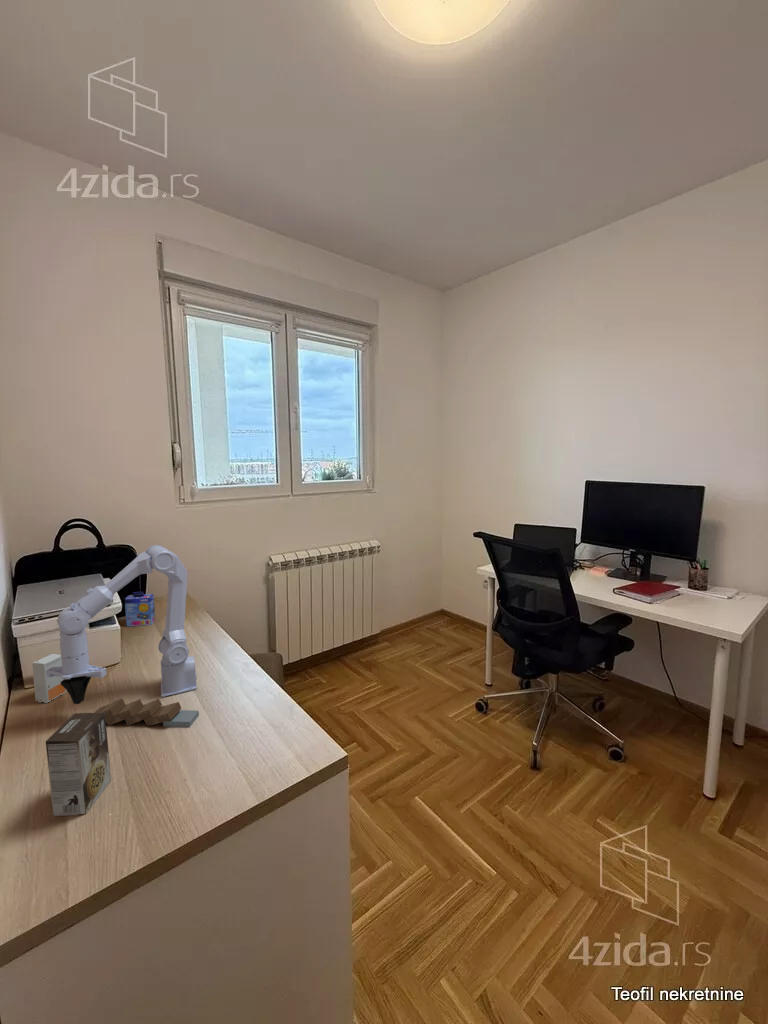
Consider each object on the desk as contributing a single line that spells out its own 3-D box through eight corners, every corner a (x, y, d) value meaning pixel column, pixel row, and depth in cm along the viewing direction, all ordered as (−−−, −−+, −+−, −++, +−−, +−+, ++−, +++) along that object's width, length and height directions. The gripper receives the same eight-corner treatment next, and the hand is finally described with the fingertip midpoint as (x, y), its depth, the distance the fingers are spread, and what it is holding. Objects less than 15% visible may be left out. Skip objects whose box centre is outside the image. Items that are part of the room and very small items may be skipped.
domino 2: (104, 719, 109) (128, 709, 108) (117, 707, 114) (139, 698, 113) (108, 725, 109) (131, 716, 108) (120, 714, 114) (143, 705, 113)
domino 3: (124, 719, 109) (148, 709, 108) (136, 707, 114) (158, 698, 113) (128, 725, 109) (151, 716, 109) (139, 714, 114) (162, 705, 114)
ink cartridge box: (125, 627, 173) (123, 593, 171) (130, 622, 178) (128, 589, 176) (151, 625, 175) (149, 591, 173) (155, 620, 180) (153, 588, 179)
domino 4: (144, 719, 109) (167, 713, 108) (156, 707, 113) (178, 701, 112) (146, 726, 109) (170, 720, 108) (159, 714, 114) (181, 708, 113)
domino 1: (86, 719, 109) (109, 709, 108) (99, 707, 114) (122, 698, 113) (90, 725, 109) (113, 715, 108) (103, 714, 114) (125, 704, 113)
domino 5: (163, 721, 108) (189, 721, 108) (173, 710, 113) (198, 710, 113) (163, 728, 109) (190, 729, 109) (173, 716, 114) (198, 717, 114)
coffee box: (81, 781, 90) (74, 712, 88) (112, 780, 91) (106, 710, 89) (51, 817, 81) (43, 741, 79) (86, 815, 82) (79, 739, 80)
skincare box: (47, 704, 118) (43, 664, 117) (35, 702, 119) (31, 662, 118) (67, 692, 124) (63, 654, 123) (55, 690, 125) (52, 653, 124)
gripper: (34, 660, 105) (39, 710, 107) (91, 660, 105) (95, 711, 107) (56, 647, 112) (60, 695, 114) (110, 648, 112) (113, 695, 114)
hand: (78, 701), depth 111 cm, fingers closed
